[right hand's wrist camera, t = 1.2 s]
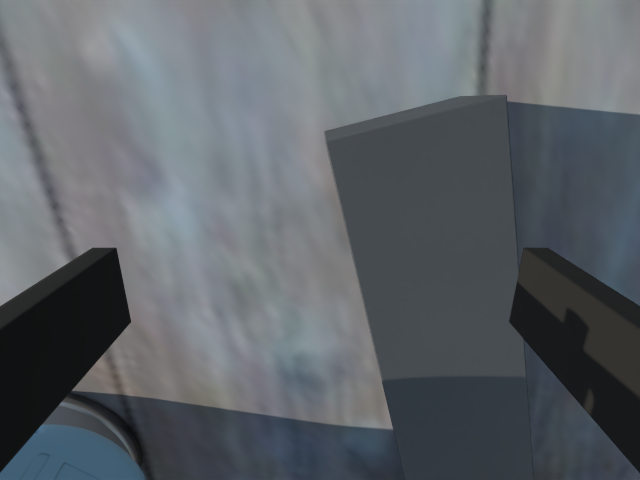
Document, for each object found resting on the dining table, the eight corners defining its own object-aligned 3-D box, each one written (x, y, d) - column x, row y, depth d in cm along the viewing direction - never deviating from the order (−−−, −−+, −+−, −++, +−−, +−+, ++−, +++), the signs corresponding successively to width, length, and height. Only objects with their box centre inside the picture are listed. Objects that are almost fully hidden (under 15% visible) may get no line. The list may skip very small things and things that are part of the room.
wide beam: (324, 131, 27) (325, 140, 21) (460, 96, 26) (507, 94, 20) (441, 629, 49) (460, 711, 43) (518, 619, 48) (549, 701, 42)
